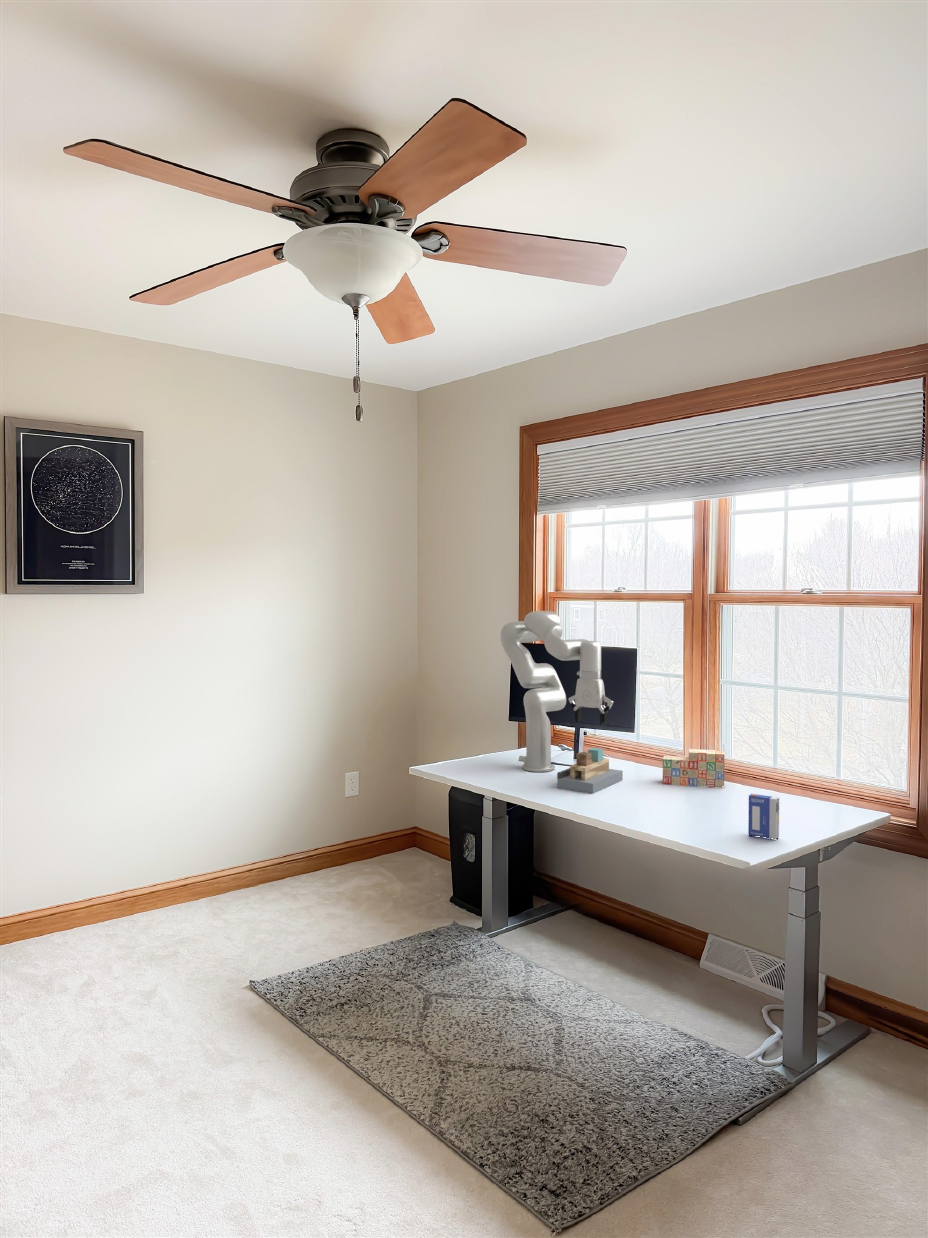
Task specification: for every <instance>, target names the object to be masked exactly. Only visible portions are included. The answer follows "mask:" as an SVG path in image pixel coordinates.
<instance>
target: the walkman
mask: <svg viewBox="0 0 928 1238" xmlns="http://www.w3.org/2000/svg"><path fill="white" fill-rule="evenodd" d="M747 828H748V834H749V835H752V836H751V837H753V836H760V837H766V838H773V839H776V838H778V837H779V838H780V797H778V796H772V795H764V794H757V793H750V794H749V795H748V827H747Z"/></svg>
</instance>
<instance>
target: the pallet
mask: <svg viewBox="0 0 928 1238" xmlns="http://www.w3.org/2000/svg"><path fill="white" fill-rule="evenodd" d="M569 768H570V779H575V778H578V777H580V776H581V780H584V781H586V780H588V779H590V778H593V777H595V776H597V775H600V774H602V773H604V772H607V771H609V769H610V758H608V757H607V758H606V757H603V760H601V761H599V762H596V761H592V764H591V765H589V766H580V765H576V763H574V764H572V765H570V766H569Z"/></svg>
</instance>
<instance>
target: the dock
mask: <svg viewBox="0 0 928 1238" xmlns="http://www.w3.org/2000/svg"><path fill="white" fill-rule="evenodd" d="M623 771H624V770H621V769H620V770H619V769H613V768H609V771H607V772H604V773H602V774H600V775H597V776H595V777H593V778H590V779H588V780H586V781H584V780H581V776H580V777H578V778H575V779H570V767H569V768H566V769H563V770H561V771H558V772H557V774H556V780H557V781H556V782H557V785H556V788H557V789H560V790H566V791H573V792H579V793H587V794H592V795H593V794H595V793H598V792H599V791H600V792H601V791H602V790H604V789H606V788H608V787H611V786H613V785H615V784H618V783H619V782H621V781H623V780H624V779H623V778H624V777H623V775H624V774H623V773H624V772H623Z"/></svg>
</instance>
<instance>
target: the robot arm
mask: <svg viewBox="0 0 928 1238" xmlns="http://www.w3.org/2000/svg"><path fill="white" fill-rule="evenodd" d="M562 636H563V627H562V625H561V619H560V616H559V615H558V614H557V612H555V611H552V610H536V611H535V610H534V611H530V612H529V613H527V614H526V615H525V617H524V620H519V621H510V622H507V623H505V624H504V625H503V626H502V627H501V631H500V643H501V646H502V648H503V650H504V653H505V654H506V655H507V657H508V659H509V661H510V663H511V665H512V668H513V670H514V673H515V676H516V677H517V680H518V683H519V684H520V686H521V687H522V688H524V689H529V690H528V691H526V692H525V694H524V696H523V706H524V707H523V708H524V713H525V726H526V727H525V730H526V731H525V734H526V736H525V737H526V739H525V741H526V743H525V744H526V745H525V746H526V747H525V748H526V749H525V751H526V754H525V755H526V756H524V755H519V756H518V762H521V763H522V762H523V764H522V770H525V771H527V772H534V773H544V772H551V771H554V770H555V768H556V766H555V765H554V764H552V759H551V758H552V755H551V754H552V751H551V750H552V741H551V739H552V733H551V732H552V731H551V729H552V727H551V721H550V718H549V716H548V715H547V712H557V711H561V710H563V709H564V708H565V707H566V705H567V699H568V701H569V703H570V707H571V708H572V709H573V711H574V719H575V723H579V722H582V710H581V709H582V708H590V709H598V710H599V711H600V713H599V725H606V722H607V713H608V712H609V711H610V710H611V708H612V707H613V705H614V701H613V700H611V699H610V698H609V697H607V696H606V694H605V693H606V692H605V684H604V680H603V679H602V645H601V642H599V641H598V640H596V641H595V640H588V639H584V638H583V639H582V638H581V639H580V638H579V639H576V638H575V639H562ZM539 641H543V644H544V647H545V649H546V651H547V653H548V654H550V655H551V656H553V657H554V658H555V659H557V660H560V661H579V671H577V672H576V675H577V676H579V678H577V680H576V687H575V694H574V695H572V696H570V697H569V698H567V694H566V692H565V689H564V687H563V685H562V682H561V680H560V678H559V675H558V674H557V671H556V670H555V668H554V667H553V665H551V664H549V663H547V662H545V663H536V662H535V660H534V659H533V657H532V655H531V652H530V651H529V649H528V648H527V647H525V646H524V645H523V644H522V643H531V642H532V643H533V642H534V643H535V642H539ZM606 703H607V705H606ZM605 705H606V706H605Z"/></svg>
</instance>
